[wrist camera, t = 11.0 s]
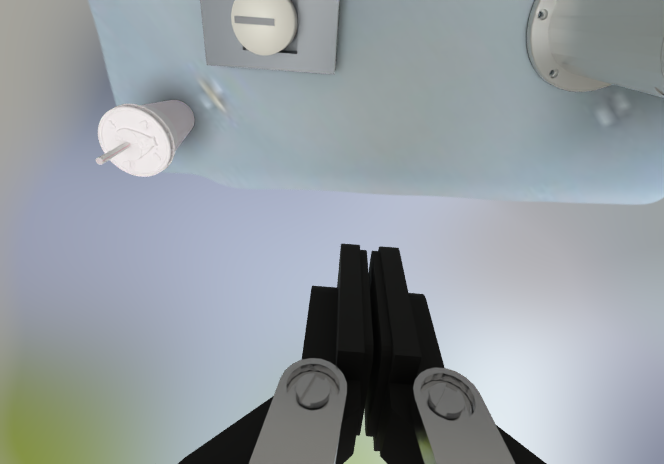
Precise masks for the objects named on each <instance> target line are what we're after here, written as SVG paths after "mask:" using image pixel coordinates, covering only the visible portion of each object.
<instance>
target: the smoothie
mask: <svg viewBox="0 0 664 464" xmlns="http://www.w3.org/2000/svg"><path fill="white" fill-rule="evenodd" d="M194 123H195V118H194V114H193V112H192V110H191V109H190V107H189V106H188V105H187V104H185V103H184V102H182V101H179V100H168V101H162V102H156V103H150V104H144V105H136V104H123V105H119V106H116V107H115V108H113V109H111V110H109V111H108V112H106V113H105V114H104V116H103V117H102V118H101V120H100V123H99V126H98V138H99V142H100V145H101V147H102V149H103V151H104V153H105V154H104V155H102V156H100V157H98V158H97V159H96V162H97V163H98V164H100V165H101V164H103V163H105V162H107V161H108V160H110V161H111V162H112V163H113V164H114V165H116V166H117V167H118V168H120V169H121V170H123V171H125V172H127V173H129V174H132V175H135V176H141V177H148V176H153V175H155V174H158V173H160V172H161V171H163V170H164V169H166V168H167V167H168V166H169V165H170V163H171V162H172V160H173V157H174V155H175V151H176V150H177V148H178V147H179V146H180V144H181V143H182V142H183V140H184V139H185V138H186V136H187V135H188V134H189V132H190V131H191V130H192V128H193V126H194Z"/></svg>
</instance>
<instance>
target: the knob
mask: <svg viewBox="0 0 664 464" xmlns="http://www.w3.org/2000/svg"><path fill="white" fill-rule="evenodd" d="M231 21H232V27H233V30H234V33H235V35H236V37H237V39H238V40H239V42H240V43H241V44H242V45H243V46H244V47H245V48H246V49H247V50H249V51H251V52H252V53H255V54H258V55H272V54H275V53H277V52H279V51H281V50H283V49H284V48H286V47H287V46H288V45H289V44H290V43H291V42H292V40H293V39H294V36H295V34H296V31H297V14H296V10H295V8H294V5H293V3H292V2H291V0H235V1H234V3H233V6H232V12H231Z"/></svg>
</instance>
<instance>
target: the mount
mask: <svg viewBox="0 0 664 464" xmlns="http://www.w3.org/2000/svg"><path fill="white" fill-rule="evenodd" d="M234 1H235V0H200V3H201V13H202V23H203V33H204V43H205V53H206V63H207V65H213V66H227V67H240V68H254V69H267V70H281V71H294V72H308V73H321V74H335V70H336V54H337V38H338V22H339V6H340V0H291V2H292V3H293V5H294V8H295V10H296V14H297V31H296V34H295V36H294V39H293V40H292V42H291V43H290V44H289V45H288V46H287V47H286V48H284V49H283V50H281V51H279V52H277V53H275V54H272V55H258V54H255V53H252V52H251V51H249V50H247V49H246V48H245V47H244V46H243V45H242V44H241V43H240V42H239V40H238V39H237V37H236V35H235V33H234V30H233V27H232V21H231V12H232V6H233V3H234Z"/></svg>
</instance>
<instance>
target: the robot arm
mask: <svg viewBox="0 0 664 464" xmlns="http://www.w3.org/2000/svg"><path fill="white" fill-rule="evenodd" d="M539 12H541V16H540V17H539V18H538V14H539ZM527 49H528V54H529V58H530V60H531V63H532V65H533V67H534V69H535V70H536V72H537V73H538V74H539V75H540V77H541V78H542V79H544V80H545V81H546V82H548V83H549V84H551V85H553V86H555V87H557V88H560V89H563V90H567V91H572V92H588V91H595V90H598V89H602V88H605V87H608V86H610V85H612V84H613V85H617V86H621V87H624V88H628V89H632V90H636V91H639V92H643V93H647V94H650V95H654V96H658V97H662V98H664V0H535V2H534V5H533V8H532V11H531V14H530V17H529V22H528V28H527ZM551 70H552V73H551V74H550V75H549V73H550V71H551ZM364 408H365V432H366V436H371V437H372V436H373V440H374V451H380V456H381V457H382V458H383V460H384V461H386V463H387V464H546V463H545V462H543V461H542V460H541V459H540V458H538V457H537V456H536V455H534V454H533V453H532V452H530V451H529V450H528V449H527V448H525V447H524V446H523V445H521V444H520V443H519V442H517V441H516V440H515V439H513V438H512V437H511V436H510V435H508V434H507V433H505V432H504V431H503V430H502V429H501V428H499V427H498V426H497V425H496V424H495V422H494V421H493V419H492V417H491V415H490V413H489V411H488V409H487V407H486V405H485V403H484V401H483V399H482V397H481V395H480V393H479V392H478V390H477V389H476V387H475V386H474V385H473V384H472V383H471V382H470V381H469V380H468V379H467V378H466V377H464V376H462V375H461V374H459V373H457V372H455V371H452V370H449V369H446V368H444V365H443V361H442V357H441V353H440V350H439V346H438V343H437V338H436V335H435V331H434V327H433V323H432V320H431V316H430V312H429V309H428V305H427V301H426V298H425V296H424V295H423V294H415V293H408V289H407V285H406V280H405V275H404V270H403V266H402V261H401V256H400V251H399V248H392V247H379V250H378V251H372V254H371V259H370V267H369V273H368V262H367V251H366V250H360V245H352V244H341V251H340V262H339V273H338V284H337V288H334V287H322V286H312V289H311V296H310V303H309V311H308V318H307V325H306V333H305V340H304V347H303V354H302V360H300V361H298V362H295V363H293V364H292V365H291V366H290V367H288V368H287V369H286V370H285V371H284V373H283V375H282V377H281V378H280V381H279V384H278V386H277V389H276V392H275V394H274V396H273V397H272V398H270V399H269V400H267V401H266V402H264V403H263V404H261V405H260V406H259V407H257V408H256V409H254V410H253V411H251V412H250V413H249V414H247V415H246V416H244V417H243V418H241V419H240V420H238V421H237V422H236V423H234V424H233V425H231V426H230V427H229V428H227V429H225V430H224V431H223V432H221V433H220V434H218V435H217V436H215V437H214V438H212V439H211V440H210V441H208V442H207V443H205V444H204V445H203V446H201V447H199V448H198V449H197V450H195V451H194V452H192V453H191V454H189V455H188V456H187V457H185V458H184V459H183V460H182V461H180V462H179V463H178V464H343V463H344V462H345V461H346V460H348V459H349V457H351V456H352V454H353V451H354V445H355V439H356V435H360V431H361V425H362V420H363V414H364Z"/></svg>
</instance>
